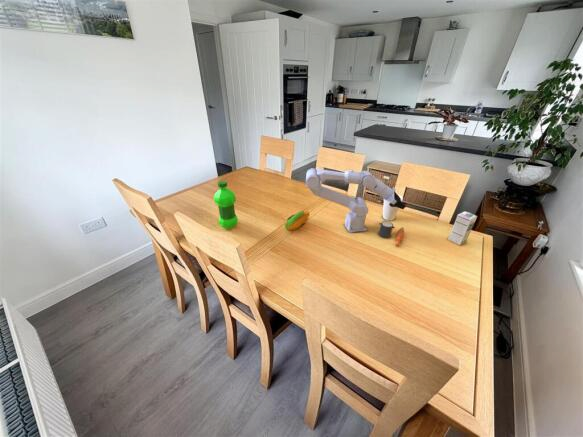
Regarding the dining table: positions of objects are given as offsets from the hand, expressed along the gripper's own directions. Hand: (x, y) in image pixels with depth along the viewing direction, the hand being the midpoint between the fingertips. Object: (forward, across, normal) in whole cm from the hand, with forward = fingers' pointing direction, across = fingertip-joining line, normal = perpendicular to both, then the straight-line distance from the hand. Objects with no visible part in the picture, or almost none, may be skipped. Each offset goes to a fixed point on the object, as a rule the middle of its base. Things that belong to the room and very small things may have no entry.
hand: (401, 203), depth 115 cm
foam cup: (+8, +12, +13) cm, 19 cm away
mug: (+2, -6, +16) cm, 17 cm away
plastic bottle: (-65, -5, +60) cm, 88 cm away
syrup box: (+31, -8, -2) cm, 32 cm away
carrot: (+8, -9, +13) cm, 17 cm away
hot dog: (-34, -1, +40) cm, 53 cm away
